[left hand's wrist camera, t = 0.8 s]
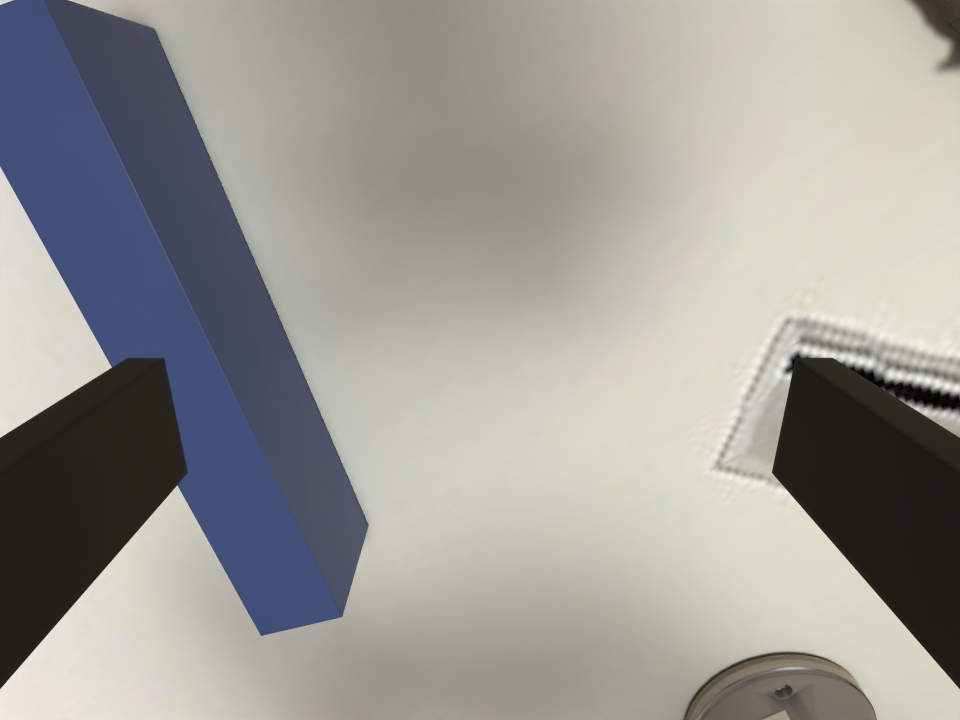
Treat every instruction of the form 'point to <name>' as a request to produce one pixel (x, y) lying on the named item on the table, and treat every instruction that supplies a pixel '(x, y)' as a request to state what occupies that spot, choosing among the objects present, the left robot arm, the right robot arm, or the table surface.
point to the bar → (177, 297)
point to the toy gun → (950, 12)
